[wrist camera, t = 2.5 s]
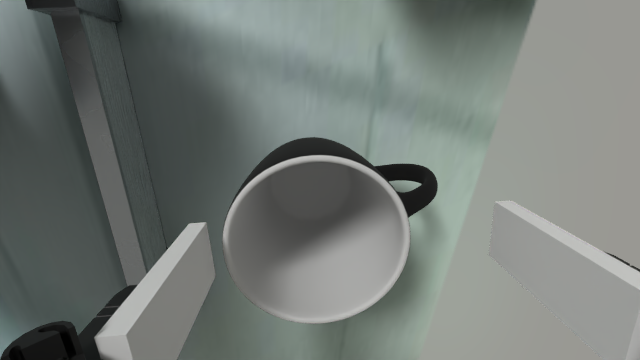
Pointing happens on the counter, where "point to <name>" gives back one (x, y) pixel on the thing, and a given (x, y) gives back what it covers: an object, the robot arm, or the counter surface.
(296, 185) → the mug
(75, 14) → the rail
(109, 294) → the counter surface
